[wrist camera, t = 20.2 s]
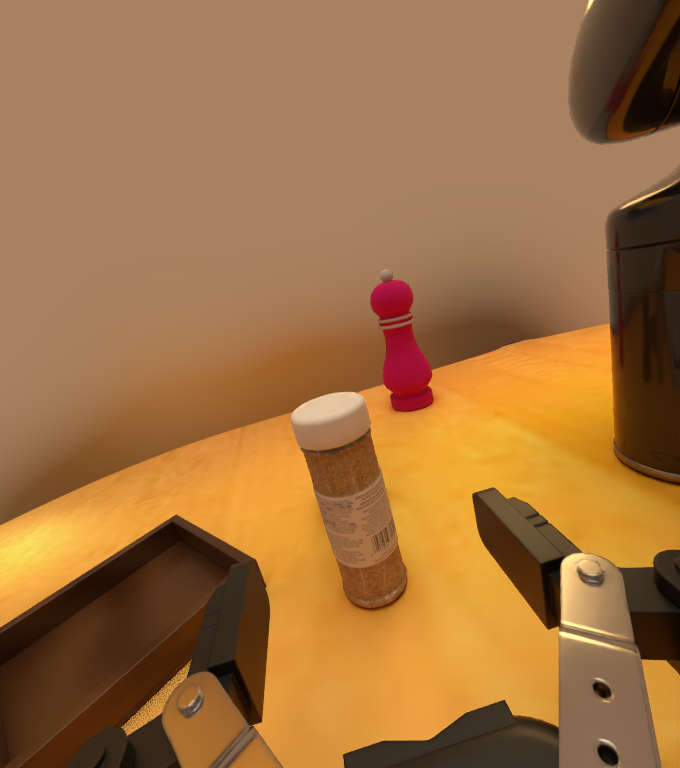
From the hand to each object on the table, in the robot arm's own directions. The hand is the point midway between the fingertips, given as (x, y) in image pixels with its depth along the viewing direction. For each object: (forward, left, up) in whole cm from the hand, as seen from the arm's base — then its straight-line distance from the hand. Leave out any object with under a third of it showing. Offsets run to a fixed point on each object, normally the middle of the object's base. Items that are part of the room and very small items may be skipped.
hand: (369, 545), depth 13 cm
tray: (+5, -21, -11) cm, 25 cm away
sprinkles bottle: (-6, -7, -11) cm, 15 cm away
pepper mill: (-37, -21, -11) cm, 44 cm away
